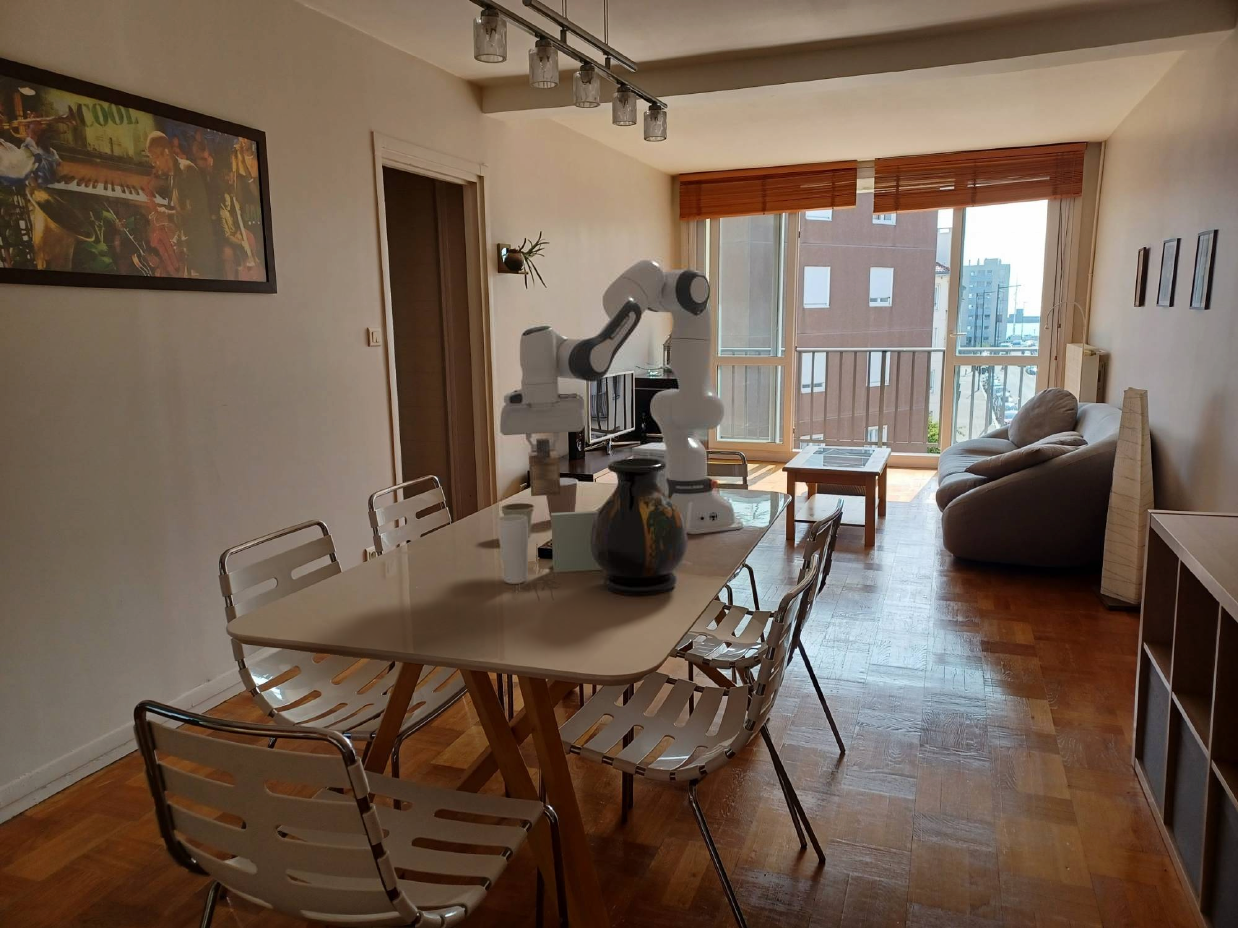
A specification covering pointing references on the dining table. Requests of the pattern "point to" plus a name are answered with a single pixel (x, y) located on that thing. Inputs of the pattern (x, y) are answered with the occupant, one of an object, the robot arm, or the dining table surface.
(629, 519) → the amphora vase
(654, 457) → the supplement box
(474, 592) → the dining table surface
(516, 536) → the drinking glass
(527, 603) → the dining table surface
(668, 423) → the robot arm
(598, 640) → the dining table surface
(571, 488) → the coffee cup
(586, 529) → the board
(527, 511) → the flower pot
